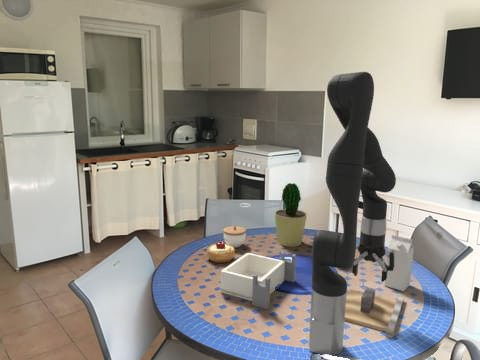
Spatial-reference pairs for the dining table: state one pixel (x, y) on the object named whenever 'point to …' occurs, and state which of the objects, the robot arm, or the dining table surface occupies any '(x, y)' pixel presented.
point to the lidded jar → (234, 235)
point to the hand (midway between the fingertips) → (369, 277)
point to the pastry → (221, 252)
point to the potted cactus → (290, 218)
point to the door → (373, 310)
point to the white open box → (257, 277)
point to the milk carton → (400, 263)
